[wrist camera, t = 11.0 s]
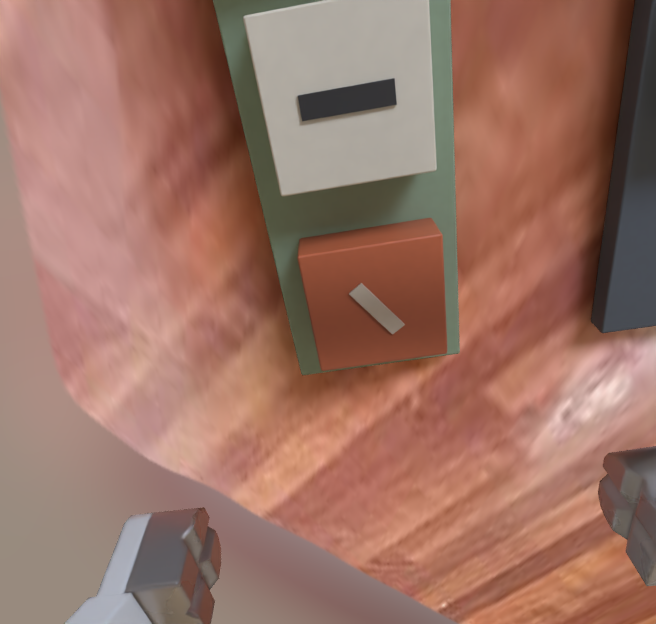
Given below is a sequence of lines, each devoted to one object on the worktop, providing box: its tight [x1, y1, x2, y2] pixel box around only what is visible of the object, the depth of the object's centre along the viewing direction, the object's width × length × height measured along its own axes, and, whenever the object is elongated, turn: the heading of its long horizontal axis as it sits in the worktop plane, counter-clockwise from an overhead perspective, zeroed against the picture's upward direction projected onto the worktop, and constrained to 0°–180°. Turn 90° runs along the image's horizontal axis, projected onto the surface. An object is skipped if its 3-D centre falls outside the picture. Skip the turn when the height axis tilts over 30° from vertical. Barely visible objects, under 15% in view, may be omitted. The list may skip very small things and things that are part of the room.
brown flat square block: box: [297, 218, 448, 371], centre depth 18 cm, size 5×5×2 cm
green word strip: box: [213, 0, 460, 375], centre depth 15 cm, size 22×7×3 cm, turn 9°
